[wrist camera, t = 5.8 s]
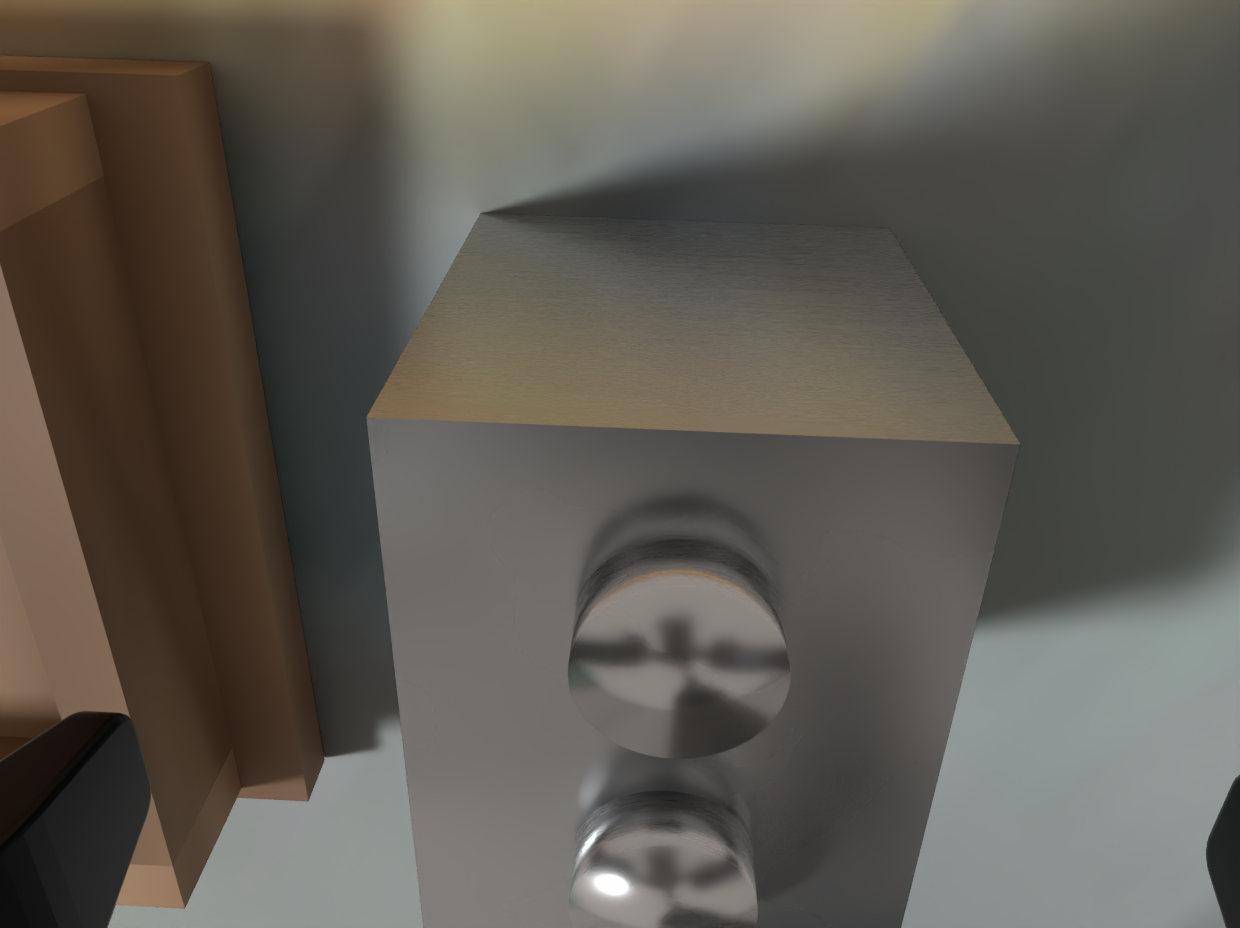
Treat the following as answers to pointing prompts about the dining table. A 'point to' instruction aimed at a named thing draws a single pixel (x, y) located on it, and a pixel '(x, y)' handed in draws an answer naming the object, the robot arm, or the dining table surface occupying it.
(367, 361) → the dining table surface
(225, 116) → the dining table surface
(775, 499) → the block
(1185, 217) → the dining table surface
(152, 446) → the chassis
